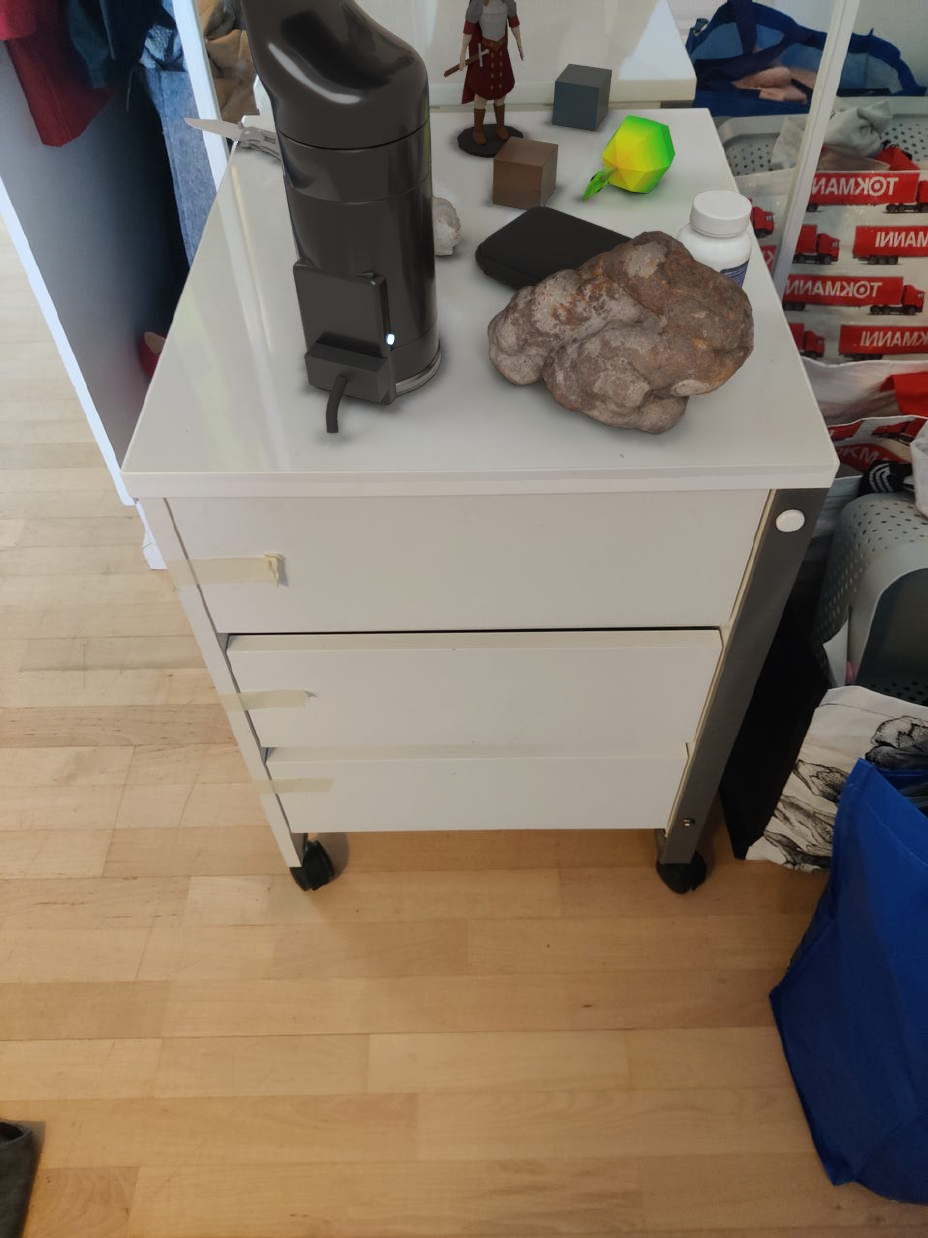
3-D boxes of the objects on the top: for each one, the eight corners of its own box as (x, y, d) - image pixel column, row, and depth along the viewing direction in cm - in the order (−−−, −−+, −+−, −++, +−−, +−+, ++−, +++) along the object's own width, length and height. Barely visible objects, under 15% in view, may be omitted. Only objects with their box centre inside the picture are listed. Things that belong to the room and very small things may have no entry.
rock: (573, 376, 72) (519, 469, 68) (499, 250, 64) (434, 346, 60) (795, 349, 59) (743, 461, 55) (736, 189, 52) (671, 305, 48)
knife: (176, 133, 90) (196, 119, 92) (314, 176, 84) (333, 161, 86) (171, 117, 89) (191, 103, 90) (311, 160, 83) (330, 144, 84)
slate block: (595, 130, 89) (599, 87, 86) (552, 123, 90) (554, 80, 87) (607, 112, 92) (612, 69, 89) (565, 105, 93) (568, 62, 90)
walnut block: (539, 212, 80) (542, 166, 76) (492, 203, 81) (492, 157, 78) (555, 188, 82) (558, 143, 79) (509, 180, 83) (510, 135, 80)
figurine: (471, 162, 85) (470, -24, 74) (444, 130, 90) (440, -50, 78) (535, 149, 87) (545, -35, 75) (506, 119, 91) (511, -60, 79)
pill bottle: (727, 309, 70) (758, 185, 62) (733, 350, 67) (767, 225, 59) (658, 305, 71) (680, 182, 63) (660, 346, 67) (684, 221, 60)
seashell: (443, 271, 74) (431, 223, 71) (342, 207, 83) (327, 161, 79) (482, 246, 75) (472, 196, 71) (379, 185, 84) (365, 138, 80)
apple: (664, 86, 78) (607, 121, 74) (703, 151, 79) (649, 189, 75) (611, 135, 84) (556, 170, 80) (648, 195, 86) (595, 233, 81)
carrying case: (455, 281, 73) (608, 348, 67) (455, 246, 71) (613, 312, 65) (533, 227, 78) (681, 285, 72) (534, 192, 76) (688, 250, 70)
